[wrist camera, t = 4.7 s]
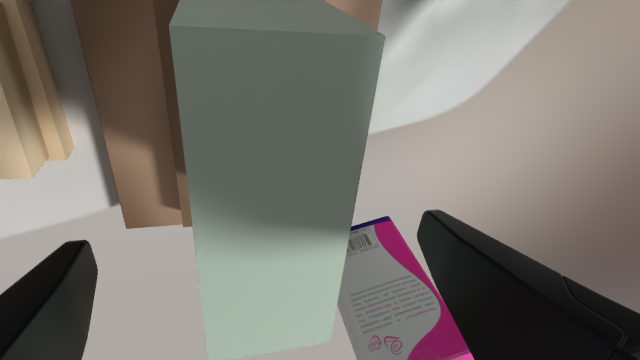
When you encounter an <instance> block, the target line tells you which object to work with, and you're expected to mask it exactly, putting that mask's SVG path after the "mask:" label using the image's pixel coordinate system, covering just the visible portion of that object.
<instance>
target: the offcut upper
mask: <svg viewBox="0 0 640 360" xmlns="http://www.w3.org/2000/svg"><path fill="white" fill-rule="evenodd" d="M48 158H49V155H48V152H47V149H46V145H45V142H44V139H43V136H42V132H41V129H40V126H39V122H38V119H37V116H36V113H35V109H34V106H33V103H32V99H31V96H30V93H29V90H28V86H27V83H26V80H25V76H24V73H23V70H22V67H21V63H20V60H19V57H18V53H17V50H16V47H15V44H14V40H13V37H12V34H11V30H10V27H9V24H8V21H7V17H6V14H5V11H4V7H3V4H2V3H0V179H27V178H34V176H35V175H36V174H37V172H38V171H39V170H40V168H41V167H42V166H43V164H44V163H45V162H46V160H47V159H48Z"/></svg>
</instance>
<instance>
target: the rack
mask: <svg viewBox="0 0 640 360" xmlns="http://www.w3.org/2000/svg"><path fill="white" fill-rule="evenodd" d="M179 1H180V0H71V3H72V7H73V11H74V15H75V19H76V23H77V28H78V32H79V36H80V40H81V44H82V48H83V52H84V56H85V61H86V65H87V69H88V73H89V77H90V81H91V85H92V89H93V93H94V98H95V102H96V106H97V110H98V114H99V118H100V122H101V126H102V131H103V135H104V139H105V143H106V147H107V151H108V155H109V159H110V163H111V168H112V172H113V176H114V180H115V184H116V188H117V192H118V196H119V200H120V205H121V209H122V213H123V217H124V221H125V225H126V228H127V229H130V228H142V227H154V226H167V225H179V224H183V227H188V226H189V227H190V226H192V218H191V209H190V201H189V192H188V184H187V175H186V167H185V158H184V150H183V141H182V133H181V124H180V116H179V107H178V99H177V90H176V82H175V73H174V65H173V56H172V48H171V39H170V31H169V24H170V22H171V19H172V17H173V15H174V12H175V10H176V8H177V5H178V3H179ZM324 1H326V2H328V3H329V4H331V5H333V6H334V7H336V8H338V9H340V10H341V11H343V12H345V13H347V14H348V15H350V16H352V17H353V18H355V19H357V20H359V21H360V22H362V23H364V24H365V25H367V26H369V27H371V28H372V29H374V30H376V31H377V28H378V22H379V16H380V10H381V4H382V0H324Z"/></svg>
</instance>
